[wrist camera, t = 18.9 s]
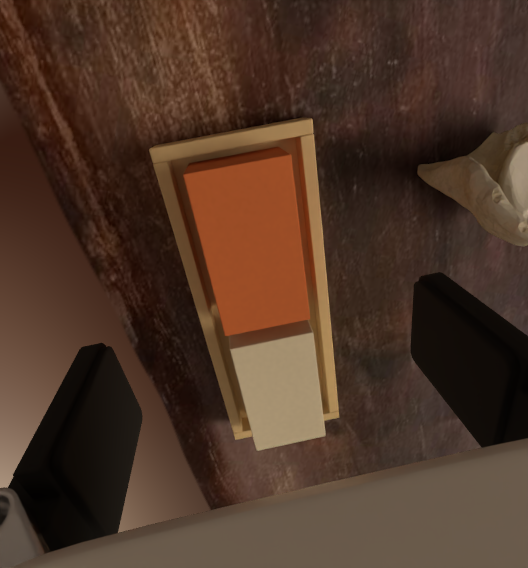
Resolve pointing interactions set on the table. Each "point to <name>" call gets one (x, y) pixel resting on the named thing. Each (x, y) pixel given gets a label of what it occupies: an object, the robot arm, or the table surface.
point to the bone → (490, 183)
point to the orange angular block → (250, 238)
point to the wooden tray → (169, 173)
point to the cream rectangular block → (279, 383)
